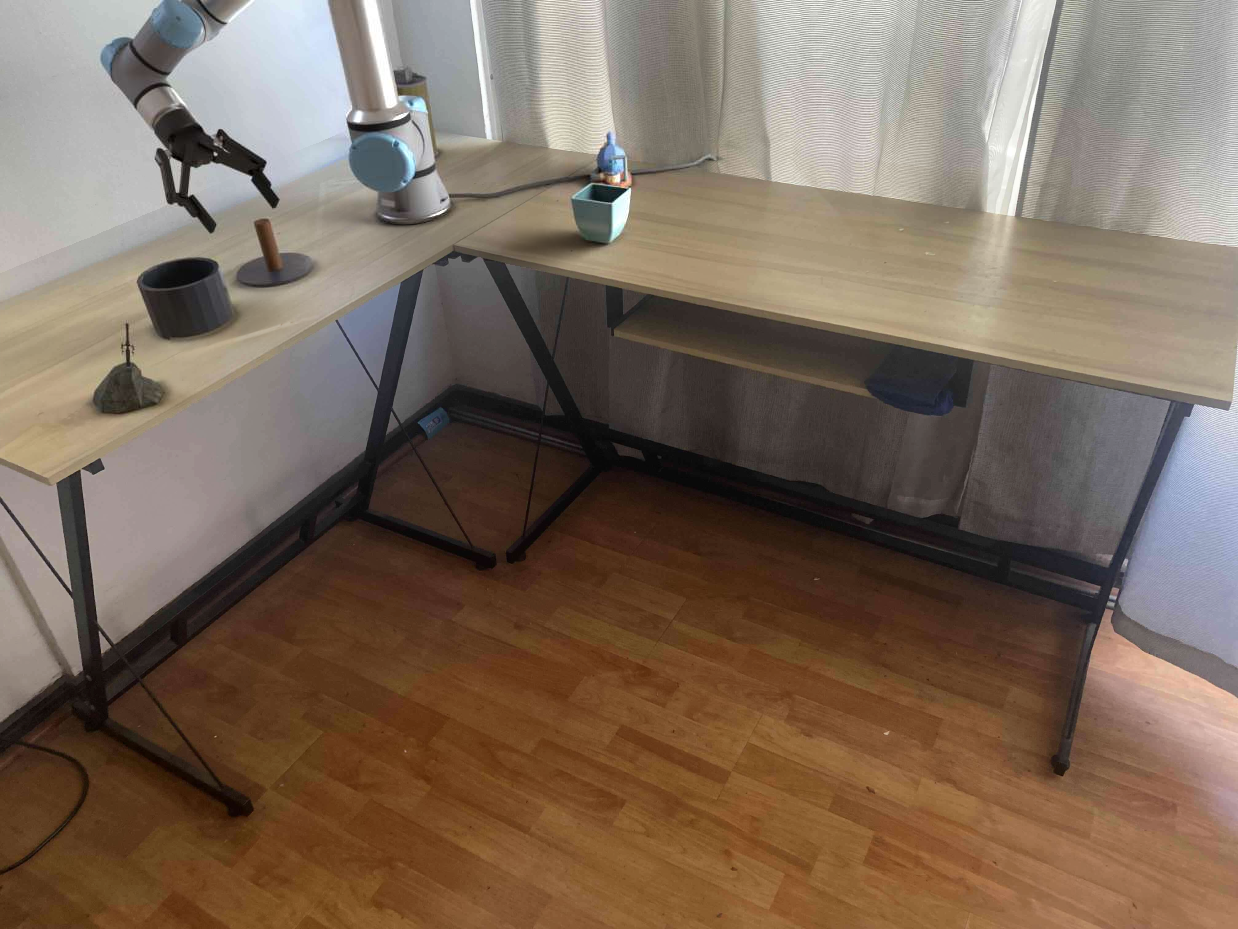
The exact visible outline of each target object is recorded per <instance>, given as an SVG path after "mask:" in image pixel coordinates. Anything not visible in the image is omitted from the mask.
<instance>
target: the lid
mask: <svg viewBox="0 0 1238 929" xmlns="http://www.w3.org/2000/svg"><path fill="white" fill-rule="evenodd" d="M253 225H254V226H253V227H254V229H255V232H256V236H257V239H258V242H259V246H260V250H261V253H262V256H260V257H257V258H254V259H251V260H249V261H247V262H246V263H244V264H243V265H241V266H240V267H239V268H238V269H237V271H236V279H237V282H239V283H240V284H242V285H245V286H247V287H252V288H270V287H277V286H283V285H287V284H290V283H292V282H295V281H299V280H301V279H302V278H304V277H306V276H307V275H308V274H310V273H311V272H312V270H314V267H315V264H314V260H313V258H312V257H310V256H309V255H307V254H303V253H300V252H280V251H279V249H278V244H277V240H276V238H275V235H274V230H273V226H272V224H271V220H270V218H260V219H256V220H254V221H253Z"/></svg>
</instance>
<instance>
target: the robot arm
mask: <svg viewBox="0 0 1238 929" xmlns="http://www.w3.org/2000/svg"><path fill="white" fill-rule="evenodd" d="M253 2H254V0H162V1H161V2H160V3H159V5H158V6H156V7H154V8H153V10H151V14H150V15H149V17H148V19H146V21H145V22H144V24H143V25H142V27H141V28H140V29H139V31H138V32H137V33H136V35H135V36H134V38H131V37H128V36H121V37H117V38H114V39H112V40H111V42H110V43H107V44H105V46H103V48H102V50H101V52H100V55H99V60H100V64H101V65H102V67H103V68H104V70H105V71H106V73H107V74H108V75H109V76H108V77H109V78H110V81H111V82H112V83H113V84H114V85H116V86H117V88H118V89H119V90H120V92H122V93H123V95H124V96H125V97H126V99H127V100H128V101H129V102H130V104H131V105H132V106H133V108H134V109H135V110H136V112H137V113H138V114H139V116H140V117H141V119H143V120H144V122H145V123H146V124H147V126H148V127H149V128H150V130H151V131H153V133H154V135H155V137H156V138H157V139H158V140H159V142H160V143H161V144H162V145H163V146H164V148H165V149H164V148H162V147H157V148H156V151H155V155H154V161H155V162H156V164H157V166H158V167H159V169H160V174H161V175H160V176H161V180H162V184H163V191H164V195H165V200H166V203H167V204H168V205H171V206H172V205H174V204H176V205H178V207H180V208H184V209H185V210H186V212H187V213H188V214H189V216H190V217H192V218H193V219H198V221H199V222H200V223H201V224H202V226H203V227H204V228H205V229H206V231H208V233H209V234H210V235H211V234H213V233H215V230H216V227H217V225H218V223H217V222H216V221H215V220H214V219H213V217H212V216H211V215H210V214H209V212H208V211H207V210H206V208H205V207H204V206H203V204H202V203H201V202H200V201H199V199H198V198H197V197H196V195H195V194H194V193H192V194H189V189H190V188H189V187H190V179H191V178H190V177H191V168H194V169H198V168H200V167H202V166H207V165H211V163H214V164H216V165H222V166H225V167H228V168H230V169H233V170H234V171H237V172H238V173H239V172H240V173H242V174H245V175H246V176H249V177H251V179H250V182H251V183H252V184H253V185H254V187H255V188H256V189H257V190H258V193H260V194H261V196H262V197H263V198H264V199H265V201H266V202H267V203H268V205H269V206H270V207H271V209H273V210H274V209H276V208H277V206H278V205H279V202H280V197H279V196H278V195H277V194H276V192H275V191H274V190H273V189H272V186H273V185H272V182H271V181H270V179H269V178H268V177H267V175H266V174H265V173H264V171H265V169H266V166H267V162H268V161H267V160H266V159H264V158H263V157H261V156H260V155H258V154H257V153H255V152H253V151H252V150H250V149H249V148H248V147H246V146H244V145H242V144H241V143H240V142H238V141H236V140H235V139H233V138H232V137H230V136H229V135H228V133H226V131H225V130H224V129H222V128H218V129H217V131H216V132H215V133H214V134H212V135H209V134H208V133H206V131H205V130H204V128H203V126H202V124H201V122H199V120H198V119H197V118H196V116H195V115H194V114H193V112H191V110H190V109H189V108H188V106H187V104H186V103H185V102H184V101H183V100H182V98H181V97H180V96H179V95H178V94H177V92H176V91H175V89H174V88H173V87H172V86H171V84H170V83H169V81H168V79H167V78H168V77H169V76H170V75H171V74H172V73H173V71H174V70H175V69H176V67H177V66H178V64H180V63H181V61H182V60H183V59H184V57H185V56H187V55H188V54H190V53H191V52H193V51H194V50H196V49H198V48H200V47H201V45H203V44H205V43H207V42H209V41H211V40H213V39H214V38H216V37H217V36H218V35H219V34H220V33H221V31H222V29H224V28H225V27H226V26H227V25H228V24H229V23H230V22H231V21H232V20H233V19H234V18H236V17H237V16H238V15H239V14H240V13H241V12H243V10H244V9H246V8H247V7H248V6H249V5H250V4H252V3H253ZM326 3H327V8H328V11H329V15H330V19H331V20H330V21H331V25H332V29H333V34H334V37H335V41H336V45H337V50H338V53H339V59H340V62H341V67H342V71H343V75H344V80H345V84H346V88H347V89H346V90H347V92H348V96H349V101H350V105H351V106H350V109H349V111H348V112H347V113H346V115H345V120H346V124H347V125H346V126H347V129H348V133H349V137H350V141H351V145H350V146H349V149H348V164H349V168H350V170H351V172H352V174H353V175H354V177H355V178H356V180H357V181H358V182H359V183H360V184H362V185H364V186H365V187H367V188H368V189H369V190H372V191H374V192H377V197H376V198H377V199H376V211H377V216H378V219H380V220H381V221H383V222H386V223H389V224H394V225H416V224H422V223H427V222H431V221H435V220H438V219H440V218H442V217H443V216H445V215H447V214H448V213H450V211H451V209H452V204H451V203H452V202H451V199H452V198H453V199H457V198H459V199H460V198H461V199H462V198H472V199H489V198H495V197H497V198H498V197H501V196H504V195H508V194H511V193H514V192H518V191H522V190H526V189H527V190H528V189H532V188H535V187H540V186H544V185H545V186H546V185H550V184H556V183H562V182H569V181H570V182H571V181H576V180H578V181H579V180H586V179H590V178H591V173H587V174H579V175H572V176H564V177H558V178H552V179H546V180H540V181H537V182H531V183H527V184H526V183H525V184H523V185H518V186H515V187H511V188H507V189H504V190H501V191H497V192H496V191H495V192H489V193H472V192H471V193H468V192H467V193H448V191H447V189H446V186H445V185H444V184H443V181H442V179H441V177H440V175H439V174H438V171H437V166H436V159H435V157H434V153H433V146H432V140H431V134H430V128H429V121H428V111H427V109H426V105H425V102H424V100H423V99H422V98H420V97H417V96H398V93H397V88H396V83H395V78H394V73H393V71H394V69H393V64H392V60H391V54H390V48H389V44H388V40H387V35H386V34H387V33H386V30H385V24H384V20H383V15H382V10H381V6H380V1H379V0H326ZM215 154H216V155H215ZM710 155H711V154H709V153H707V154H703V155H701V156H700V157H699V158H697V159H696V160H693V161H691V162H686V163H682V164H675V165H667V166H658V167H651V168H641V169H640V168H639V169H630V170H628V169H627V172H630V174H631V175H636V174H648V173H655V172H656V173H657V172H664V171H671V170H678V169H679V170H680V169H685V168H690V167H694V166H696V165H698V164H700V163H701V162H703V161H705V160H706V159H710V160H712V161H717V160H718V159H717V158H716V156H714V155H713V156H710ZM171 159H173V160H176V161H178V162H180V163H181V166H180V178H179V189H178V192H177V191H176V185H175V181H174V175H173V171H172V166H171ZM623 172H624V171H623Z"/></svg>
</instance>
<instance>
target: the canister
mask: <svg viewBox="0 0 1238 929" xmlns="http://www.w3.org/2000/svg"><path fill="white" fill-rule="evenodd" d="M393 73H394V78H395V83H396V88H397V93H398V96H417V97H420V98H422V99H423V100H424V102H425V105H426V109H427V111H428V121H429V128H430V134H431V140H432V146H433V153H434V158H435V157H437V156H438V154H439V150H438V149H437V141H436V134H435V129H434V124H433V118H432V112H431V104H430V98H429V92H428V87H427V77H426V76H425V75H421V74H418V73H417V72H413V71H412V67H411V66H397V67H396V68H395V69H393Z"/></svg>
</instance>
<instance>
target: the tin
mask: <svg viewBox="0 0 1238 929" xmlns="http://www.w3.org/2000/svg"><path fill="white" fill-rule="evenodd" d="M136 286H137V287H138V290H139V292H140V295H141V298H142V301H143V304H144V305H145V308H146V311H147V313H148V316H149V318H150V321H151V324H152V326H153V328H154V331H155V333H156V335H157V336H158V337H160V338H161V339H164V340H168V341H169V340H170V341H171V338H189V337H196V336H200V335H203V334H207V333H210V332H213V331H215V330H217V329H219V328H221V327H223V326H225V325H226V324H228V323H229V322H230V321H231V319H232V318H233V317H234V315H235V314H234V313H235V309H234V305H233V303H232V300H231V297H230V294H229V291H228V288H227V285H226V282H225V278H224V275H223V271H222V269H221V265H220V264H219V262H217V260H215V259H212V258H208V257H201V256H195V257H194V256H191V257H183V258H176V259H172V260H167V261H164V262H161V263H159V264H155V265H153V266H151V267H150V268H148V269H145V270H144V271H143V272H142V273H141V274H139V276H138V277H137V279H136Z"/></svg>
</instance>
